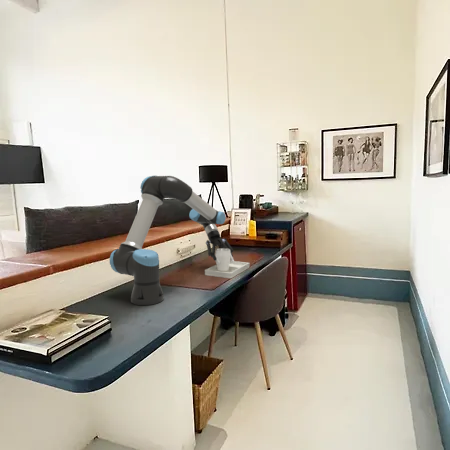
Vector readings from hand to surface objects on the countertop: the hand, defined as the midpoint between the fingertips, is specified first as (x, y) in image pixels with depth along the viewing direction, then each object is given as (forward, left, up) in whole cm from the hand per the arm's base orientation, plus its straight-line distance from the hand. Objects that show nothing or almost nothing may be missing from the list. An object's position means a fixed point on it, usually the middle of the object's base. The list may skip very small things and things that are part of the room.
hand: (225, 263), depth 209 cm
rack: (+6, +7, -7) cm, 11 cm away
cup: (0, +3, -4) cm, 6 cm away
